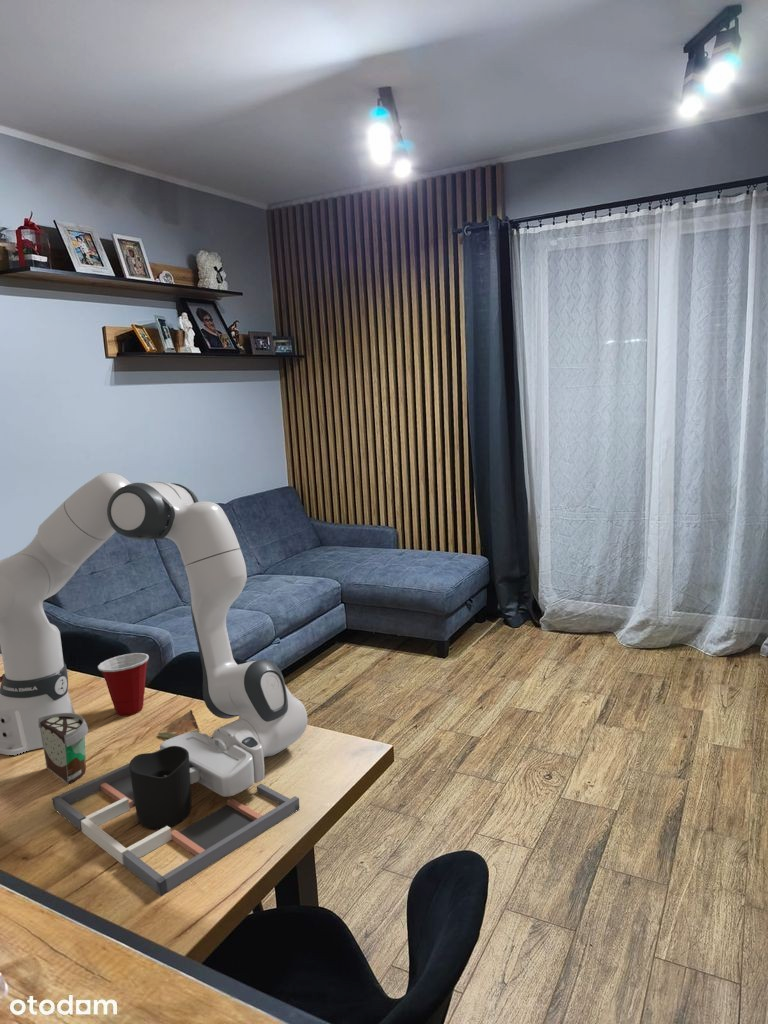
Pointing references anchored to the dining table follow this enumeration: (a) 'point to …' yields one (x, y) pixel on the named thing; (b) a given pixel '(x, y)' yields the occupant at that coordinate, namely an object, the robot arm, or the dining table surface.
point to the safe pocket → (111, 844)
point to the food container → (64, 745)
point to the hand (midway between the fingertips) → (165, 781)
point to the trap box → (200, 838)
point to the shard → (180, 726)
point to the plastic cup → (126, 681)
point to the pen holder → (161, 787)
